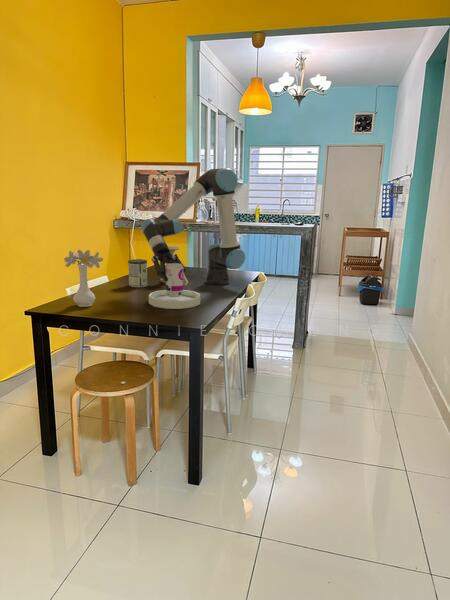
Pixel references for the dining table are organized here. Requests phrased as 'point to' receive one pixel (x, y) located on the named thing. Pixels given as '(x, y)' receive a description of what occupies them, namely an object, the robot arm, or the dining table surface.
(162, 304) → the ceramic bowl
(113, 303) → the dining table surface
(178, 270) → the supplement can
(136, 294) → the dining table surface
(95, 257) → the flower vase
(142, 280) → the coffee can
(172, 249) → the candle holder
